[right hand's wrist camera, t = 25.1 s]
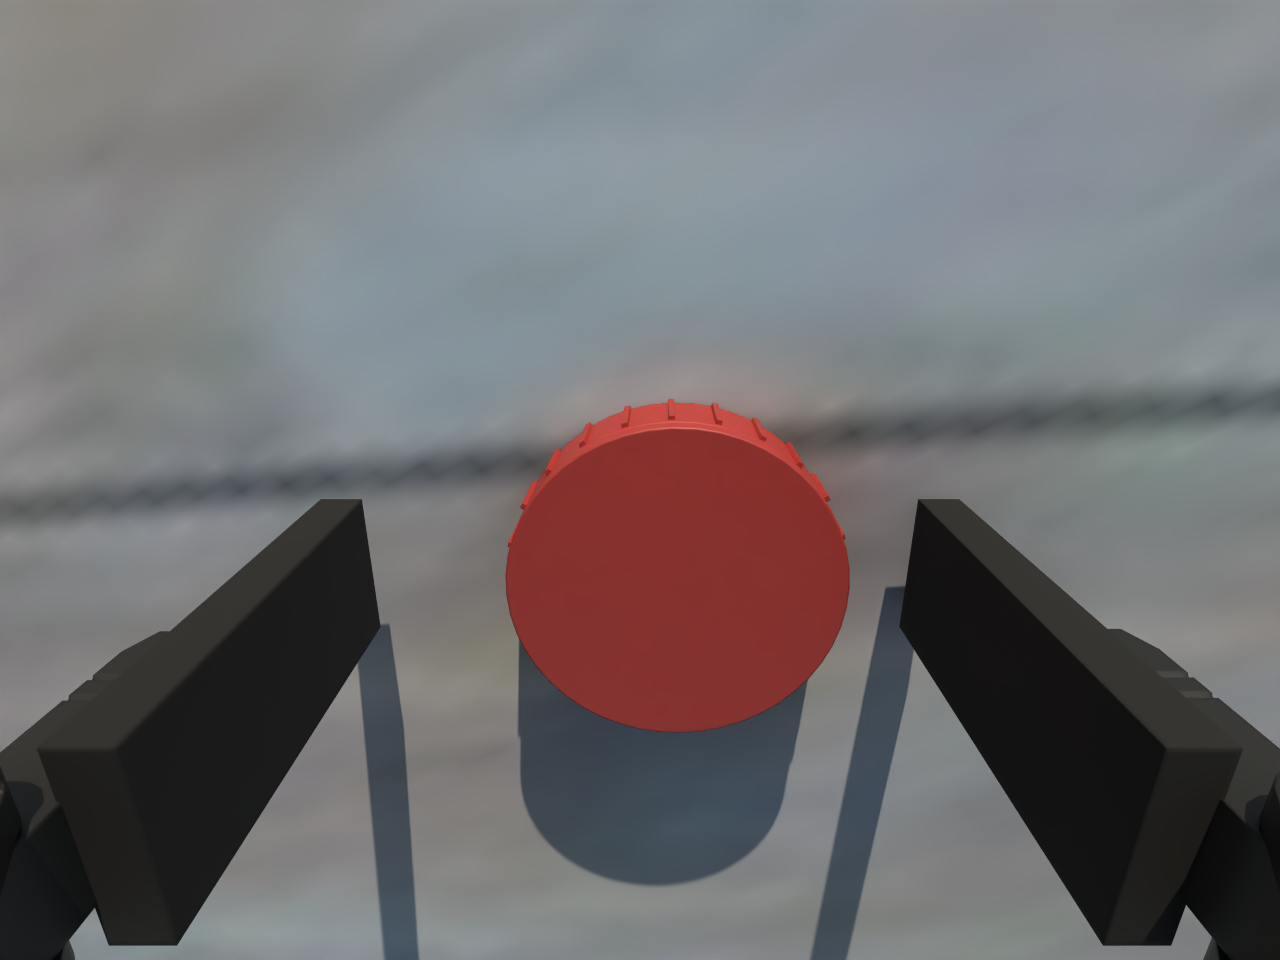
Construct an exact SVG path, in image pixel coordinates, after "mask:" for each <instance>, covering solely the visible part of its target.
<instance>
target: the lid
mask: <svg viewBox="0 0 1280 960" xmlns="http://www.w3.org/2000/svg"><path fill="white" fill-rule="evenodd" d="M829 500H830V498H829V496H828V494H827V493H826V491H825V489H824V488H823V486H822V485H821V483H820V481H819V480H818V478H817V476H816V475H815V473H813V474H812V475H810V474H809V472H808V471H807V469H806V468H805V466H804V464H803V463H802V461H801V459H800V457H799V456H798V454H797V452H796V451H795V449H794V447H793V446H792V444H791V443H790V442H787V443H786V444H784V443H783V442H782V441H781V440H780V439H778V438H777V437H776V436H775V435H773V434H772V433H771V432H769V431H768V430H766V429H765V428H763V427H762V426H761V424H760V422H759V420H758V419H756V418H753V419H752V421H751V420H749V419H746V418H744V417H742V416H740V415H738V414H735V413H732V412H729V411H726V410H722V409H719V407H718V404H716V403H712V406H705V405H699V404H693V403H674V399H668V403H664V404H653V405H647V406H642V407H638V408H633V409H631V407H630V406H626V407H625V408H624V411H623V412H621V413H618V414H615V415H613V416H610V417H608V418H606V419H604V420H602V421H600V422H598V423H596V424H594V425H592V424H591V423H588V424H586V425H585V428H584V431H583V432H582V433H581V434H579V435H578V436H576V437H575V438H574V439H572V440H571V441H570V442H569V443H568V444H567V445H566V446H565V447H564V448H563V449H562V450H561V451H560V450H559V449H558V448H557V449H556V450H555V451H554V453H553V455H552V457H551V459H550V461H549V463H548V465H547V467H546V469H545V471H544V473H543V474H542V476H541V478H540V479H539V481H538V483H537V482H536V481H533V483H532V485H531V487H530V489H529V491H528V493H527V495H526V497H525V499H524V501H523V503H522V505H521V507H520V508H522V509H524V511H523V513H522V515H521V517H520V520H519V522H518V524H517V526H516V528H515V530H514V532H513V534H512V536H511V538H510V540H509V542H508V547H510V549H509V552H508V558H507V567H506V594H507V600H508V606H509V611H510V615H511V618H512V621H513V624H514V627H515V630H516V633H517V635H518V637H519V639H520V641H521V643H522V645H523V647H524V649H525V651H526V652H527V654H528V655H529V657H530V658H531V660H532V661H533V663H534V664H535V666H536V667H537V668H538V669H539V670H540V672H541V673H542V674H543V675H544V676H545V677H546V678H547V679H548V681H549V682H550V683H551V684H553V685H554V686H555V687H556V688H557V689H558V690H560V691H561V692H562V693H563V694H564V695H565V696H567V697H568V698H570V699H571V700H573V701H574V702H576V703H577V704H579V705H580V706H581V707H583V708H585V709H587V710H589V711H591V712H593V713H595V714H597V715H599V716H601V717H603V718H606V719H609V720H611V721H614V722H616V723H619V724H623V725H627V726H631V727H634V728H638V729H644V730H651V731H658V732H679V733H680V732H696V731H704V730H710V729H716V728H721V727H725V726H728V725H732V724H735V723H738V722H741V721H744V720H746V719H749V718H751V717H754V716H756V715H758V714H760V713H762V712H764V711H766V710H768V709H769V708H771V707H773V706H775V705H777V704H778V703H780V702H781V701H782V700H784V699H785V698H787V697H788V696H789V695H791V694H792V693H793V692H795V691H796V690H797V689H798V688H799V687H800V686H801V685H802V684H803V683H804V682H805V681H807V680H808V679H809V678H810V676H811V675H812V674H813V673H814V672H815V670H816V669H817V668H818V667H819V666H820V664H821V663H822V662H823V660H824V659H825V657H826V655H827V654H828V652H829V651H830V649H831V647H832V646H833V644H834V641H835V639H836V637H837V635H838V633H839V630H840V628H841V625H842V622H843V618H844V615H845V612H846V608H847V602H848V595H849V563H848V556H847V550H846V546H845V543H844V539H845V535H844V533H843V531H842V530H841V528H840V526H839V524H838V523H837V521H836V519H835V517H834V515H833V513H832V511H831V509H830V507H829V505H828V504H827V501H829Z"/></svg>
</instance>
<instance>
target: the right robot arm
mask: <svg viewBox="0 0 1280 960" xmlns="http://www.w3.org/2000/svg"><path fill="white" fill-rule="evenodd" d="M379 628H380V620H379V613H378V607H377V600H376V593H375V586H374V579H373V573H372V566H371V559H370V552H369V545H368V539H367V532H366V525H365V518H364V512H363V505H362V499H321V500H320V501H318V502H317V503H316V504H315V505H314V506H313V507H312V508H310V509H309V510H308V511H307V512H306V513H305V514H304V515H302V516H301V517H300V518H299V519H298V520H297V521H296V522H294V523H293V524H292V525H291V526H290V527H289V528H288V529H286V530H285V531H284V532H283V533H282V534H281V535H280V536H278V537H277V538H276V539H275V540H274V541H273V542H272V543H270V544H269V545H268V546H267V547H266V548H265V549H264V550H262V551H261V552H260V553H259V554H258V555H257V556H256V557H254V558H253V559H252V560H251V561H250V562H249V563H248V564H246V565H245V566H244V567H243V568H242V569H241V570H240V571H238V572H237V573H236V574H235V575H234V576H233V577H232V578H230V579H229V580H228V581H227V582H226V583H225V584H224V585H222V586H221V587H220V588H219V589H218V590H217V591H216V592H214V593H213V594H212V595H211V596H210V597H209V598H208V599H206V600H205V601H204V602H203V603H202V604H201V605H200V606H198V607H197V608H196V609H195V610H194V611H193V612H192V613H190V614H189V615H188V616H187V617H186V618H185V619H184V620H182V621H181V622H180V623H179V624H178V625H177V626H176V627H174V628H173V629H172V630H171V631H160V632H158V633H156V634H154V635H152V636H150V637H149V638H147V639H145V640H143V641H141V642H139V643H137V644H135V645H133V646H131V647H130V648H128V649H126V650H124V651H122V652H121V653H119V654H118V655H117V656H116V657H115V658H113V659H112V660H111V661H110V662H109V663H107V664H106V665H105V666H104V667H103V668H101V669H100V670H99V671H98V672H97V673H95V674H94V675H93V679H92V680H87V681H86V682H85V683H83V684H82V685H81V686H80V687H79V688H77V689H76V690H75V691H74V692H73V693H71V694H70V695H69V699H68V701H62V702H61V703H59V704H58V705H57V706H56V707H55V708H53V709H52V710H51V711H50V712H49V713H47V714H46V715H45V716H44V717H43V718H41V719H40V720H39V721H38V722H37V723H35V724H34V725H33V726H32V727H30V728H29V729H28V730H27V731H26V732H24V733H23V734H22V735H21V736H20V737H18V738H17V739H16V740H15V741H14V742H12V743H11V744H10V745H9V746H8V747H6V748H5V749H4V750H3V751H2V752H0V960H75V956H74V952H73V949H72V947H71V944H70V942H69V939H70V938H71V937H72V935H73V934H74V933H75V932H76V930H77V929H78V928H79V927H80V925H81V924H82V923H83V922H84V920H85V919H86V918H87V917H88V915H89V914H90V913H91V912H92V910H93V909H94V908H95V909H96V912H97V914H98V917H99V920H100V923H101V925H102V928H103V931H104V933H105V936H106V939H107V942H108V944H109V945H178V943H179V941H180V940H181V938H182V937H183V935H184V934H185V932H186V930H187V929H188V927H189V926H190V924H191V923H192V921H193V919H194V918H195V916H196V915H197V913H198V912H199V910H200V909H201V907H202V905H203V904H204V902H205V901H206V899H207V898H208V896H209V894H210V893H211V891H212V890H213V888H214V887H215V885H216V883H217V882H218V880H219V879H220V877H221V876H222V874H223V873H224V871H225V869H226V868H227V866H228V865H229V863H230V862H231V860H232V858H233V857H234V855H235V854H236V852H237V851H238V849H239V847H240V846H241V844H242V843H243V841H244V840H245V838H246V836H247V835H248V833H249V832H250V830H251V829H252V827H253V826H254V824H255V822H256V821H257V819H258V818H259V816H260V815H261V813H262V811H263V810H264V808H265V807H266V805H267V804H268V802H269V800H270V799H271V797H272V796H273V794H274V793H275V791H276V790H277V788H278V786H279V785H280V783H281V782H282V780H283V779H284V777H285V775H286V774H287V772H288V771H289V769H290V768H291V766H292V764H293V763H294V761H295V760H296V758H297V757H298V755H299V753H300V752H301V750H302V749H303V747H304V746H305V744H306V743H307V741H308V739H309V738H310V736H311V735H312V733H313V732H314V730H315V728H316V727H317V725H318V724H319V722H320V721H321V719H322V717H323V716H324V714H325V713H326V711H327V710H328V708H329V707H330V705H331V703H332V702H333V700H334V699H335V697H336V696H337V694H338V692H339V691H340V689H341V688H342V686H343V685H344V683H345V681H346V680H347V678H348V677H349V675H350V674H351V672H352V670H353V669H354V667H355V666H356V664H357V663H358V661H359V660H360V658H361V656H362V655H363V653H364V652H365V650H366V649H367V647H368V645H369V644H370V642H371V641H372V639H373V638H374V636H375V634H376V633H377V631H378V630H379ZM900 628H901V630H902V631H903V633H904V634H905V636H906V638H907V639H908V641H909V642H910V644H911V645H912V647H913V649H914V650H915V652H916V653H917V655H918V656H919V658H920V660H921V661H922V663H923V664H924V666H925V667H926V669H927V670H928V672H929V674H930V675H931V677H932V678H933V680H934V681H935V683H936V685H937V686H938V688H939V689H940V691H941V692H942V694H943V696H944V697H945V699H946V700H947V702H948V703H949V705H950V706H951V708H952V710H953V711H954V713H955V714H956V716H957V717H958V719H959V721H960V722H961V724H962V725H963V727H964V728H965V730H966V732H967V733H968V735H969V736H970V738H971V739H972V741H973V743H974V744H975V746H976V747H977V749H978V750H979V752H980V753H981V755H982V757H983V758H984V760H985V761H986V763H987V764H988V766H989V768H990V769H991V771H992V772H993V774H994V775H995V777H996V779H997V780H998V782H999V783H1000V785H1001V786H1002V788H1003V789H1004V791H1005V793H1006V794H1007V796H1008V797H1009V799H1010V800H1011V802H1012V804H1013V805H1014V807H1015V808H1016V810H1017V811H1018V813H1019V815H1020V816H1021V818H1022V819H1023V821H1024V822H1025V824H1026V826H1027V827H1028V829H1029V830H1030V832H1031V833H1032V835H1033V836H1034V838H1035V840H1036V841H1037V843H1038V844H1039V846H1040V847H1041V849H1042V851H1043V852H1044V854H1045V855H1046V857H1047V858H1048V860H1049V862H1050V863H1051V865H1052V866H1053V868H1054V869H1055V871H1056V872H1057V874H1058V876H1059V877H1060V879H1061V880H1062V882H1063V883H1064V885H1065V887H1066V888H1067V890H1068V891H1069V893H1070V894H1071V896H1072V898H1073V899H1074V901H1075V902H1076V904H1077V905H1078V907H1079V909H1080V910H1081V912H1082V913H1083V915H1084V916H1085V918H1086V919H1087V921H1088V923H1089V924H1090V926H1091V927H1092V929H1093V930H1094V932H1095V934H1096V935H1097V937H1098V938H1099V940H1100V941H1101V943H1102V945H1103V946H1171V944H1172V942H1173V939H1174V936H1175V933H1176V931H1177V928H1178V925H1179V923H1180V920H1181V917H1182V914H1183V912H1184V909H1185V906H1186V905H1187V906H1188V908H1189V909H1190V910H1191V911H1192V913H1193V914H1194V915H1195V916H1196V918H1197V919H1198V920H1199V921H1200V923H1201V924H1202V925H1203V926H1204V928H1205V929H1206V930H1207V931H1208V933H1209V934H1210V935H1211V936H1212V939H1211V942H1210V944H1209V947H1208V949H1207V952H1206V954H1205V957H1204V959H1203V960H1280V749H1279V748H1278V747H1277V746H1276V745H1275V744H1273V743H1272V742H1271V741H1270V740H1269V739H1267V738H1266V737H1265V736H1264V735H1262V734H1261V733H1260V732H1259V731H1258V730H1256V729H1255V728H1254V727H1253V726H1252V725H1250V724H1249V723H1248V722H1247V721H1246V720H1244V719H1243V718H1242V717H1241V716H1239V715H1238V714H1237V713H1236V712H1235V711H1233V710H1232V709H1231V708H1230V707H1229V706H1227V705H1226V704H1225V703H1224V702H1223V701H1221V700H1220V699H1219V698H1213V697H1212V692H1210V691H1209V690H1208V689H1207V688H1206V687H1204V686H1203V685H1202V684H1201V683H1200V682H1198V681H1197V680H1196V679H1195V678H1189V677H1188V673H1187V672H1186V671H1185V670H1184V669H1183V668H1181V667H1180V666H1179V665H1178V664H1177V663H1175V662H1174V661H1173V660H1172V659H1170V658H1169V657H1168V656H1167V655H1166V654H1164V653H1163V652H1162V651H1161V650H1160V649H1158V648H1156V647H1154V646H1152V645H1150V644H1148V643H1146V642H1145V641H1143V640H1141V639H1139V638H1137V637H1135V636H1133V635H1131V634H1129V633H1127V632H1125V631H1123V630H1122V629H1107V628H1106V627H1104V626H1103V625H1102V624H1101V623H1100V622H1099V621H1098V620H1096V619H1095V618H1094V617H1093V616H1092V615H1091V614H1090V613H1088V612H1087V611H1086V610H1085V609H1084V608H1083V607H1082V606H1080V605H1079V604H1078V603H1077V602H1076V601H1075V600H1074V599H1072V598H1071V597H1070V596H1069V595H1068V594H1067V593H1066V592H1064V591H1063V590H1062V589H1061V588H1060V587H1059V586H1058V585H1056V584H1055V583H1054V582H1053V581H1052V580H1051V579H1050V578H1048V577H1047V576H1046V575H1045V574H1044V573H1043V572H1042V571H1040V570H1039V569H1038V568H1037V567H1036V566H1035V565H1034V564H1032V563H1031V562H1030V561H1029V560H1028V559H1027V558H1026V557H1024V556H1023V555H1022V554H1021V553H1020V552H1019V551H1018V550H1016V549H1015V548H1014V547H1013V546H1012V545H1011V544H1010V543H1008V542H1007V541H1006V540H1005V539H1004V538H1003V537H1002V536H1000V535H999V534H998V533H997V532H996V531H995V530H994V529H992V528H991V527H990V526H989V525H988V524H987V523H986V522H984V521H983V520H982V519H981V518H980V517H979V516H978V515H976V514H975V513H974V512H973V511H972V510H971V509H970V508H968V507H967V506H966V505H965V504H964V503H963V502H962V501H960V500H959V499H918V505H917V512H916V518H915V525H914V532H913V539H912V546H911V552H910V559H909V566H908V573H907V580H906V586H905V593H904V600H903V607H902V614H901V620H900Z"/></svg>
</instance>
